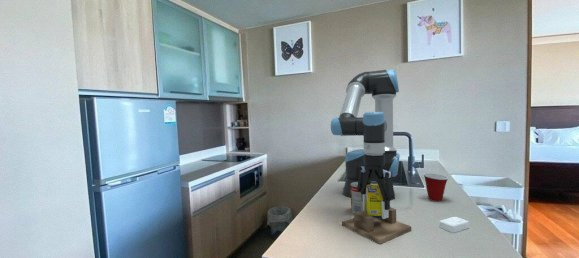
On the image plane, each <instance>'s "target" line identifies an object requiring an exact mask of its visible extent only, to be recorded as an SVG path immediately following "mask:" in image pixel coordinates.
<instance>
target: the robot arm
mask: <svg viewBox="0 0 579 258" xmlns="http://www.w3.org/2000/svg"><path fill="white" fill-rule="evenodd" d="M345 91H346V92H345V93H346V95H345V98H344V100H343V104H342V108H341V110H340V114H339V115H338V116H339V117H334V118H333V117H332V119H331V121H330V131H331V133H332V135H334V136H341V137H344V136H352V137H353V136H363V149H358V150H357V149H356V150H351V151H348V152H347V153H346V154H345V159H344V160H345V162H344V163H345V183H344V187H343V188H342V194H343V195H344V196H345V197H348V198H351V183H354V182H358V186H357V191H360V192H361V196H362V202H363V211H364V212H365V211H366V185H368V184H372V183H371V182H372V181H373V180H375V182H376V183H377V184H378V185H379V188H380V191H381V194H382V197H383V200H382V219H385V218H388V217H389V211H388V210H389V209H390V207H391V201H394V200H395V199H396V194H395V189H394V183H393V177H397V175H398V172H399V165H400V164H399V162H400V156H401V154H400V153H398V152H397V149H396V148H395V146H394V104H393V103H394V99H395V97H396V96H397V93H399V92H400V90H399V81H398V76H397V72H396V70H395V69H381V70H374V71H373V70H372V71H363V72H361V73H358V74H356V75H355V76H354V77H353V78H352V79H351V80H350V81H349V82H348V84H347V86H346V89H345ZM365 95H371V98H372V99H373V100H374V111H370V112H369V111H368V112H363V115H362V116H361V117H358V113H359V110H360V106H361V102H362V99H363V97H364V96H365ZM360 187H361V188H360Z"/></svg>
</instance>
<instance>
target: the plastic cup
mask: <svg viewBox="0 0 579 258" xmlns="http://www.w3.org/2000/svg"><path fill="white" fill-rule="evenodd" d="M423 176H424V182H425V186H426V191H427V197H428V199H429V200H430V201H434V202H442V201H443V200H444V199H443V198H444V194H445V190H446V185H447V182H448V180H449V179H450V178H449V176H448V175H444V174H440V173H436V172H435V173H433V172H425V173H423Z"/></svg>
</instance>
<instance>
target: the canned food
mask: <svg viewBox="0 0 579 258" xmlns="http://www.w3.org/2000/svg"><path fill="white" fill-rule="evenodd" d="M357 186H358V182H354V183H351V197H350V211H351V213H353V214H354V212H358V211H360V212H362V213H365V214H366V213H367V212H366V211H365V212H364V211H363V202H362V196H361V192H360V191H357ZM360 188H361V187H360Z"/></svg>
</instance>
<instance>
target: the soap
mask: <svg viewBox="0 0 579 258" xmlns="http://www.w3.org/2000/svg"><path fill="white" fill-rule="evenodd" d="M469 226H470V222H469V221H468V220H467V219H463V218H461V217H458V216H453V217H448V218H444V219H440V220H439V228H440V229H443V230H444V231H447V232H449V233H452V234H453V233H457V232H460V231H465V230H468V229H469V228H470V227H469Z"/></svg>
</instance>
